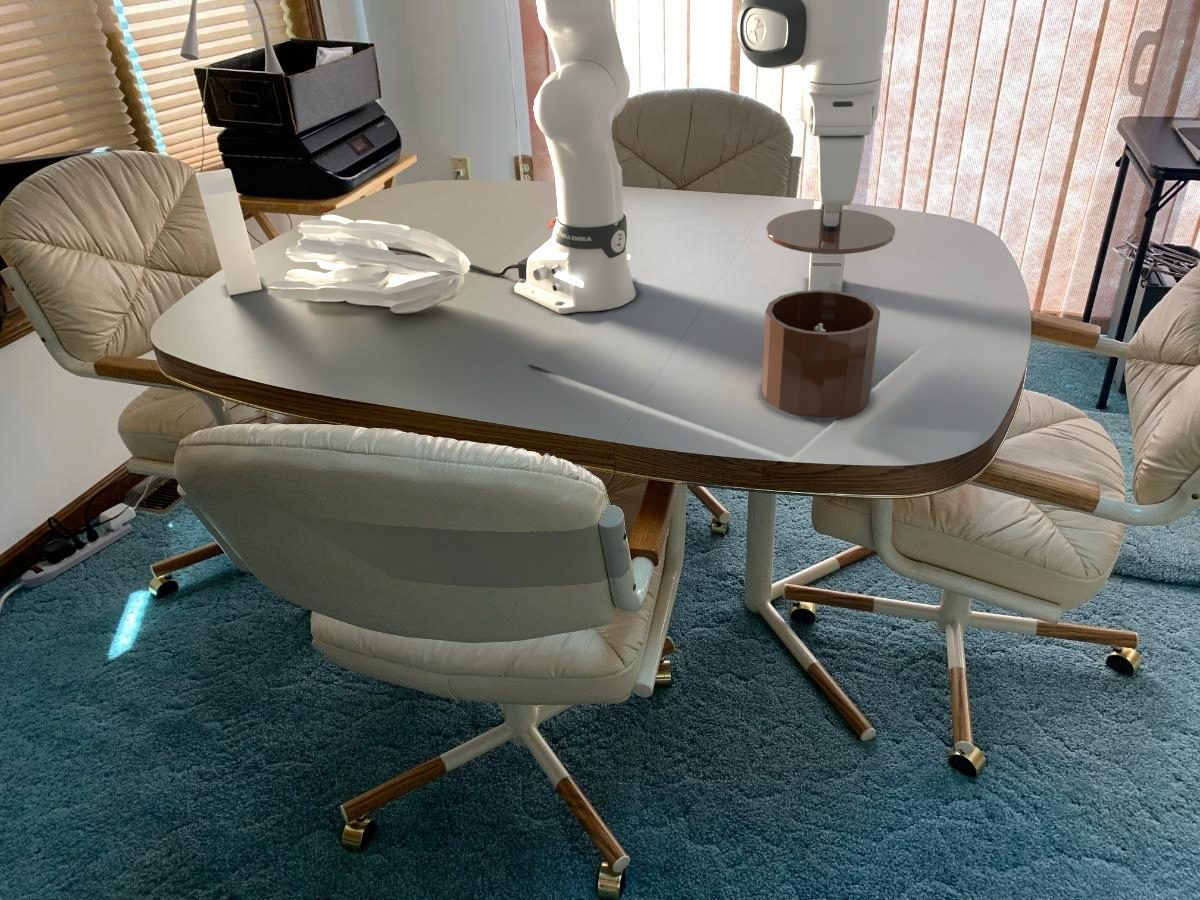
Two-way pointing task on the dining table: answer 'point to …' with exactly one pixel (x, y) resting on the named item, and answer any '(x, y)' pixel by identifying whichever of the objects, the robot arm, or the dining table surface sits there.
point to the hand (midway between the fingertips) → (830, 219)
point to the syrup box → (826, 268)
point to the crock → (819, 353)
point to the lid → (830, 232)
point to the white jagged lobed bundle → (372, 266)
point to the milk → (229, 231)
